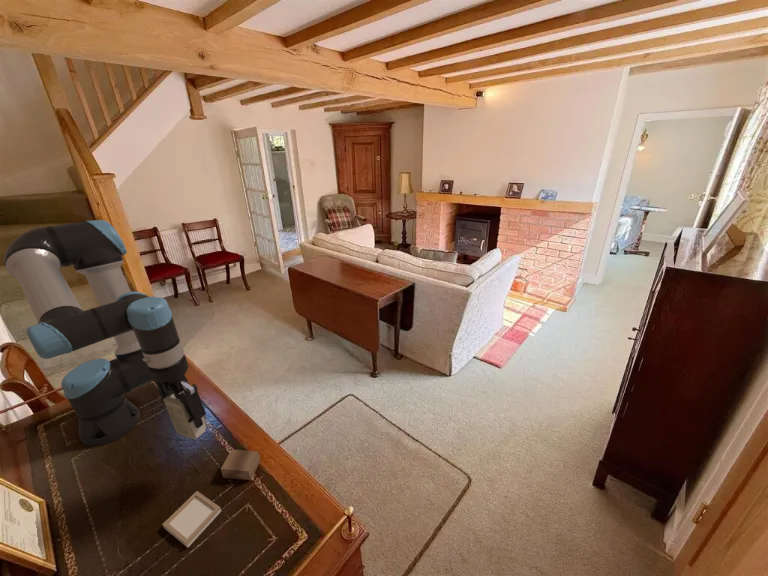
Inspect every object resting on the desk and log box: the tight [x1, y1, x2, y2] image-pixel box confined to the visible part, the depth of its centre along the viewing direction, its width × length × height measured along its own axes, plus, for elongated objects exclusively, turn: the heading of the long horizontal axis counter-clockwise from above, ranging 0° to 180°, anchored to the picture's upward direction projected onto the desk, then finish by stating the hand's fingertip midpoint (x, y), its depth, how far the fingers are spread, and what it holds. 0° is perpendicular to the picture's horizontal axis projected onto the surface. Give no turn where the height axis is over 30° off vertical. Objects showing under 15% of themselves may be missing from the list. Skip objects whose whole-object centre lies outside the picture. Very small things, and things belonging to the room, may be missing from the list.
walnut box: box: [220, 449, 261, 481], centre depth 90 cm, size 8×6×4 cm
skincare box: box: [163, 392, 207, 440], centre depth 82 cm, size 6×4×12 cm
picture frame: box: [162, 490, 222, 548], centre depth 78 cm, size 9×9×2 cm
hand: (191, 428), depth 85 cm, fingers closed on skincare box, 6 cm apart
